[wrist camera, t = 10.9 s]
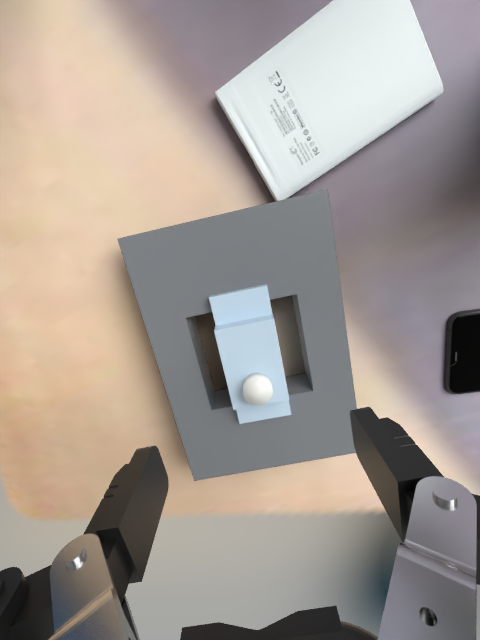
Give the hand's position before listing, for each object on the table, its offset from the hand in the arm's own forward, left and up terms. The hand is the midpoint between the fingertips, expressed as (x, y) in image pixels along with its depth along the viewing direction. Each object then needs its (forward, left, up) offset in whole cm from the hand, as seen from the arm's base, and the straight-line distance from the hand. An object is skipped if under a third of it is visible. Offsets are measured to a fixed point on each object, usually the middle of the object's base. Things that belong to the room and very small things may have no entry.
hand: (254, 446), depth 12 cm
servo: (0, 0, -13) cm, 13 cm away
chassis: (0, 0, -13) cm, 13 cm away
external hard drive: (-16, +9, -14) cm, 23 cm away
